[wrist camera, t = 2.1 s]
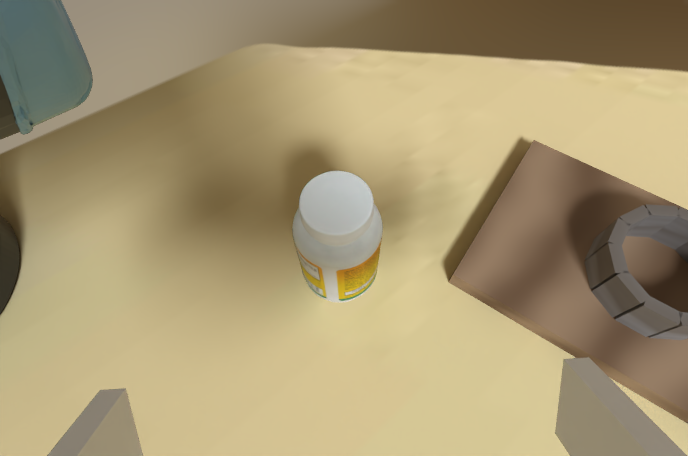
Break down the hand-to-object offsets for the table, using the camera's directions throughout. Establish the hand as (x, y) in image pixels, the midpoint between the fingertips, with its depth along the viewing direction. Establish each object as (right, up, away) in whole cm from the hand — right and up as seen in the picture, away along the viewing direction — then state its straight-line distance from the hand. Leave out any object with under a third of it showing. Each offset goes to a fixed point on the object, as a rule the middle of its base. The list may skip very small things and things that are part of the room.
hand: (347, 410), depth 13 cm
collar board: (+20, +1, +17) cm, 26 cm away
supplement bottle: (0, +2, +18) cm, 18 cm away
